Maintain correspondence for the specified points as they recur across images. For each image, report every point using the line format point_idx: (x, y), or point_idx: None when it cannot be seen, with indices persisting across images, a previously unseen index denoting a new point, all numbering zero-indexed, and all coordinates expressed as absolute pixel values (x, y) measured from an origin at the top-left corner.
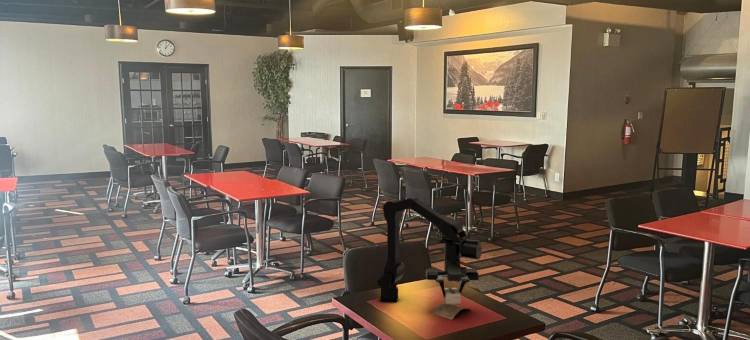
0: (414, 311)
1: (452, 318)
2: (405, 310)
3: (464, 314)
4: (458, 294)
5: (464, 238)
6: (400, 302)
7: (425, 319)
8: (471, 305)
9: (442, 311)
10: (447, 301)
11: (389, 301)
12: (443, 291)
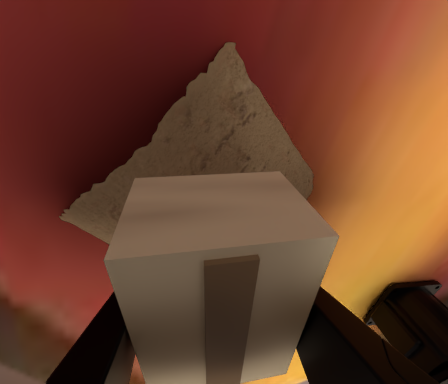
0: (383, 203)
1: (226, 55)
2: (411, 214)
3: (115, 151)
4: (148, 248)
5: None
6: (376, 284)
7: (401, 80)
8: (64, 280)
9: (272, 168)
10: (284, 181)
11: (415, 284)
12: (334, 309)
